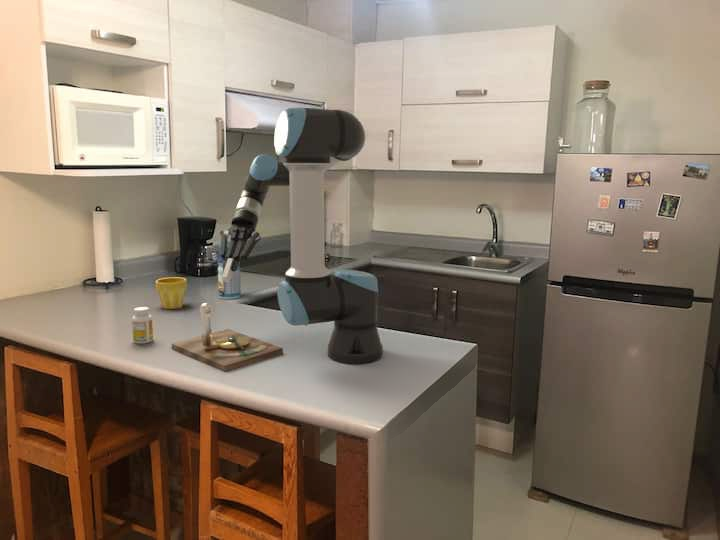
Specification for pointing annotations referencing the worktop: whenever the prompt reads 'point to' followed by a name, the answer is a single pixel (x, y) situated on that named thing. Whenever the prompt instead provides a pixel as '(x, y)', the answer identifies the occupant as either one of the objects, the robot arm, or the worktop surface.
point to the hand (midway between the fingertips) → (225, 279)
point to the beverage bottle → (228, 288)
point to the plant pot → (171, 291)
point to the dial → (221, 343)
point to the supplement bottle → (142, 325)
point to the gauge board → (227, 351)
